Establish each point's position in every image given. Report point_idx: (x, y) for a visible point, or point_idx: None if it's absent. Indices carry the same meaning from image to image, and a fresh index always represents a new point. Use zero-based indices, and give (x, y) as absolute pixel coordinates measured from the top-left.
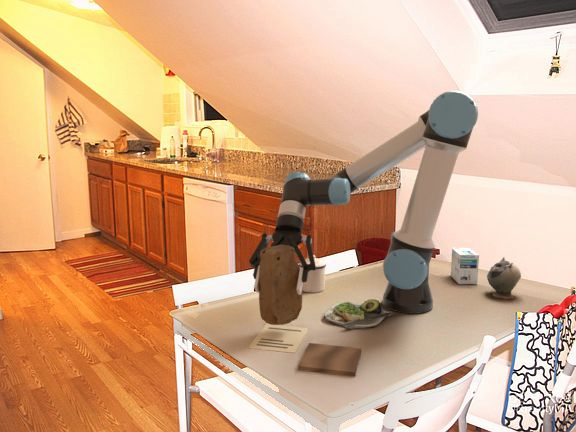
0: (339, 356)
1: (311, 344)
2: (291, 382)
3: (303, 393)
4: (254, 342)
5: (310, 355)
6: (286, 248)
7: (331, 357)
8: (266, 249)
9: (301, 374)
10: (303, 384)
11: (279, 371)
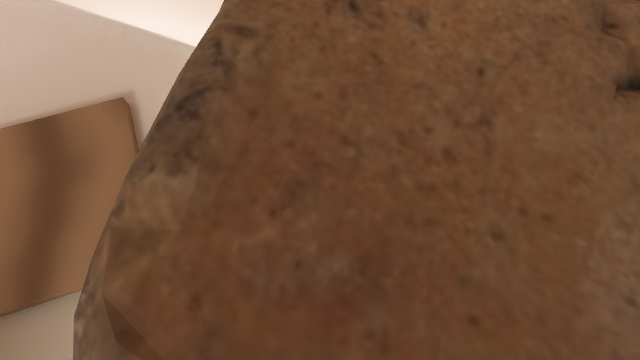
0: (10, 219)
1: None
2: (117, 45)
3: (67, 19)
4: None
5: (111, 173)
6: (190, 95)
7: (36, 197)
8: (606, 5)
9: (108, 89)
10: (83, 51)
11: (174, 74)
